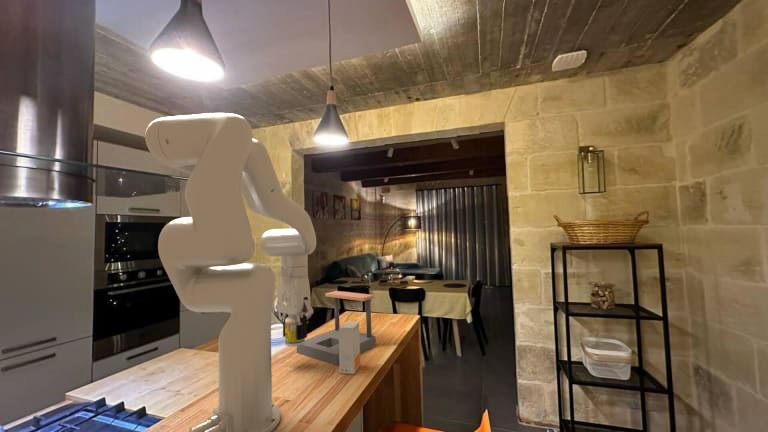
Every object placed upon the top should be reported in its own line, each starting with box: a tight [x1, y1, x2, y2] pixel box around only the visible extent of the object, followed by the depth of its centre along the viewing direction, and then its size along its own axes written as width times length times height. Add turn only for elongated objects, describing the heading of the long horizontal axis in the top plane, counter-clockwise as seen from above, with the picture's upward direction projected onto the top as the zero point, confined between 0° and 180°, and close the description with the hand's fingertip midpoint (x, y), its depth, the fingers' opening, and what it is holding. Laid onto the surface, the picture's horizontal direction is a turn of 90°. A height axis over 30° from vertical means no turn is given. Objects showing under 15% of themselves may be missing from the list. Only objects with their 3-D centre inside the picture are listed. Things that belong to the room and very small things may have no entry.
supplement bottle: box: [284, 311, 306, 348], centre depth 86 cm, size 5×5×10 cm
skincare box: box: [338, 321, 361, 375], centre depth 83 cm, size 6×4×12 cm
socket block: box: [296, 290, 377, 366], centre depth 98 cm, size 18×18×16 cm
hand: (294, 336), depth 86 cm, fingers closed on supplement bottle, 5 cm apart
